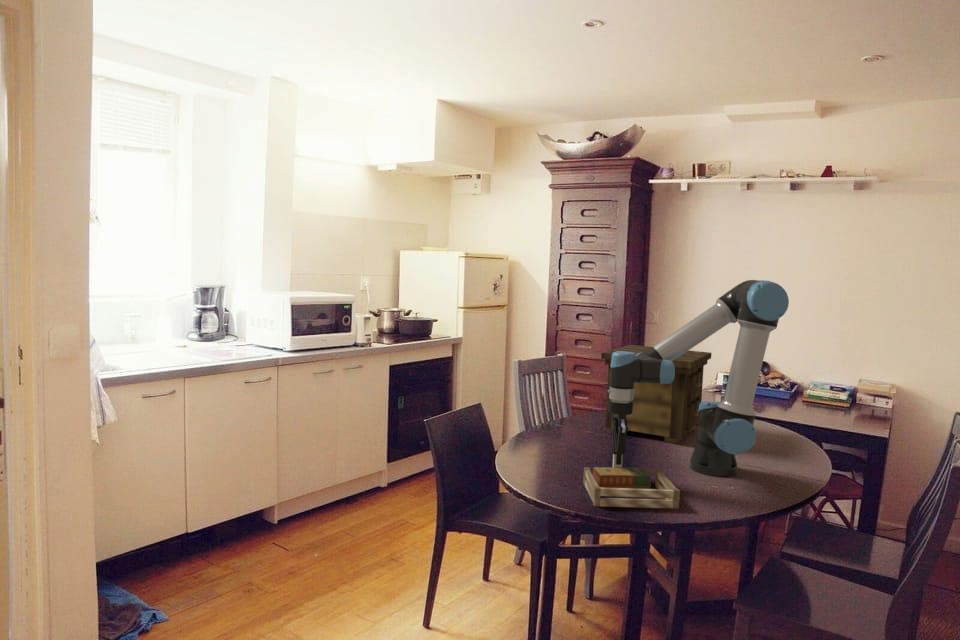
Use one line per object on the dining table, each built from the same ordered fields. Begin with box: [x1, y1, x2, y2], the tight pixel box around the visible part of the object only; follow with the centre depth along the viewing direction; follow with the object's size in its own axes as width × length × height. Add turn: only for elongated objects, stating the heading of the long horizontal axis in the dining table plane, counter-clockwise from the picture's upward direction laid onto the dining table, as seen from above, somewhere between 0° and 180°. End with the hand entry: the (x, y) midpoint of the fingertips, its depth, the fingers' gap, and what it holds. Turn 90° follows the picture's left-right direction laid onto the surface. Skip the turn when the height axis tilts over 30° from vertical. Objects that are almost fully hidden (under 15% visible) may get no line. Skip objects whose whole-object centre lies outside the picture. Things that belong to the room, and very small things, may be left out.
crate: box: [600, 344, 712, 445], centre depth 261 cm, size 35×35×33 cm
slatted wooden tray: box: [582, 466, 681, 510], centre depth 187 cm, size 24×18×5 cm
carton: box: [592, 466, 652, 489], centre depth 198 cm, size 8×16×4 cm, turn 96°
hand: (616, 473), depth 203 cm, fingers closed
